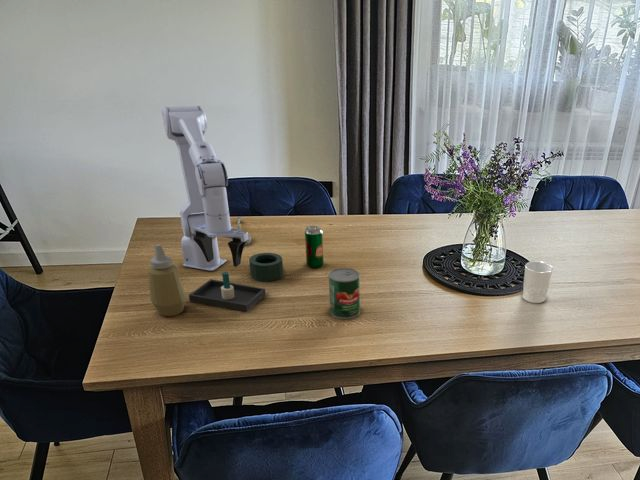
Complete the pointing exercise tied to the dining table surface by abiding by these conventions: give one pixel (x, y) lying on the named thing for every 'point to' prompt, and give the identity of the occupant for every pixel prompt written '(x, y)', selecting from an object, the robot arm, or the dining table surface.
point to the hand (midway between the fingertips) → (223, 262)
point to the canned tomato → (344, 293)
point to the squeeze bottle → (165, 284)
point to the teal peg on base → (227, 287)
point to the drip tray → (241, 301)
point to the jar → (266, 267)
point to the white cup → (536, 281)
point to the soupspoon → (240, 229)
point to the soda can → (314, 247)
